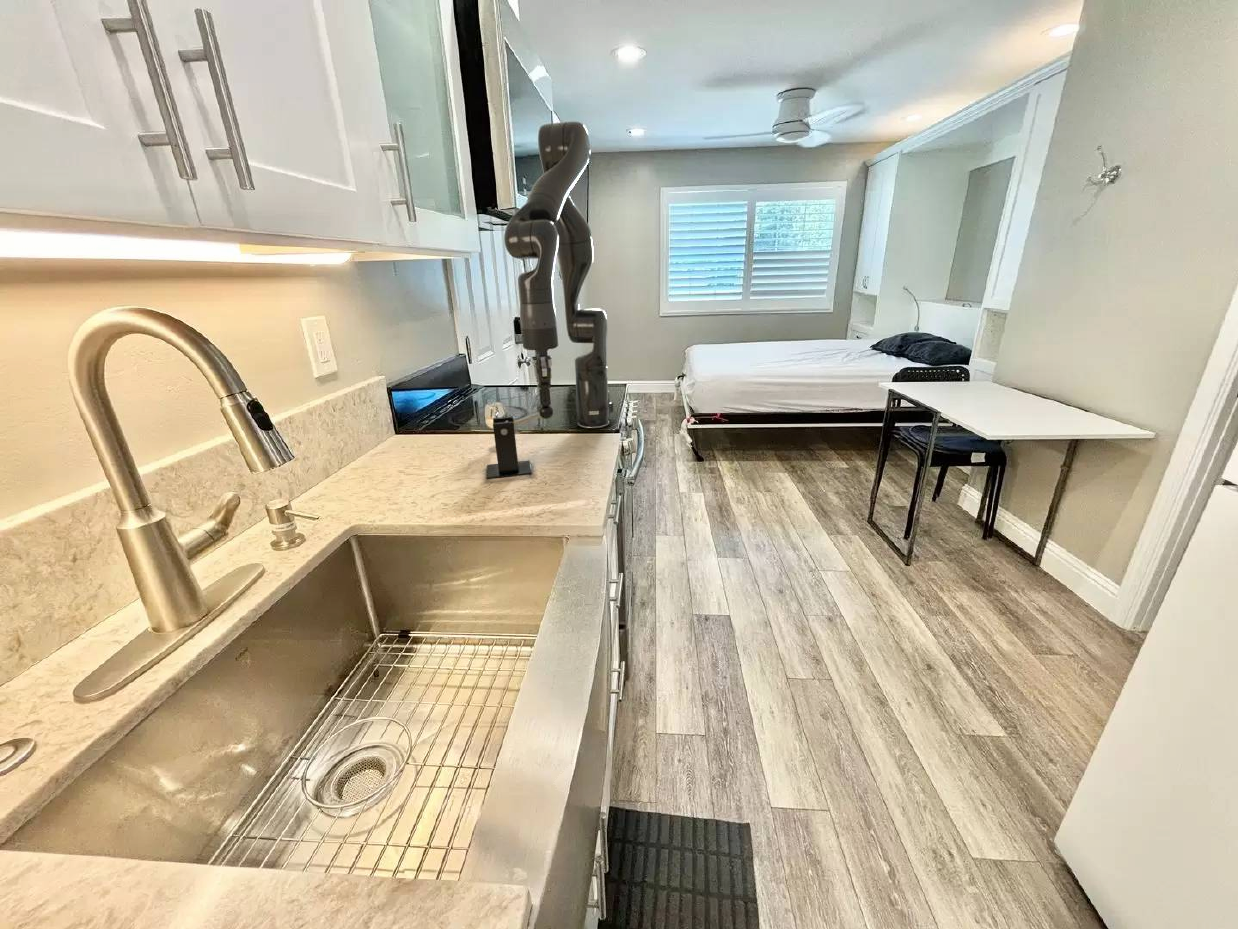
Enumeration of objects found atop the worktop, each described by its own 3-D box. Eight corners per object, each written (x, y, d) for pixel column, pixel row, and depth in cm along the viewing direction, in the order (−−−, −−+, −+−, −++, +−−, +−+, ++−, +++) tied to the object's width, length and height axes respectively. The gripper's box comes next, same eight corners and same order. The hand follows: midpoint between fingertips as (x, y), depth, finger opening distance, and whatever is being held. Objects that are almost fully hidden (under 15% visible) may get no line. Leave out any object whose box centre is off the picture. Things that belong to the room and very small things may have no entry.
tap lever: (554, 414, 112) (549, 401, 111) (555, 417, 110) (550, 404, 108) (500, 434, 111) (495, 421, 110) (501, 438, 108) (495, 425, 107)
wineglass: (505, 453, 126) (500, 408, 121) (484, 452, 127) (478, 407, 123) (514, 445, 131) (509, 402, 127) (494, 444, 132) (488, 401, 128)
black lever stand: (530, 464, 118) (525, 413, 113) (532, 477, 111) (526, 423, 106) (487, 469, 116) (480, 417, 111) (486, 482, 109) (479, 427, 104)
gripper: (560, 327, 98) (565, 411, 104) (553, 321, 110) (559, 397, 116) (522, 329, 96) (530, 414, 103) (519, 323, 108) (527, 399, 115)
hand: (545, 405), depth 110 cm, fingers closed
